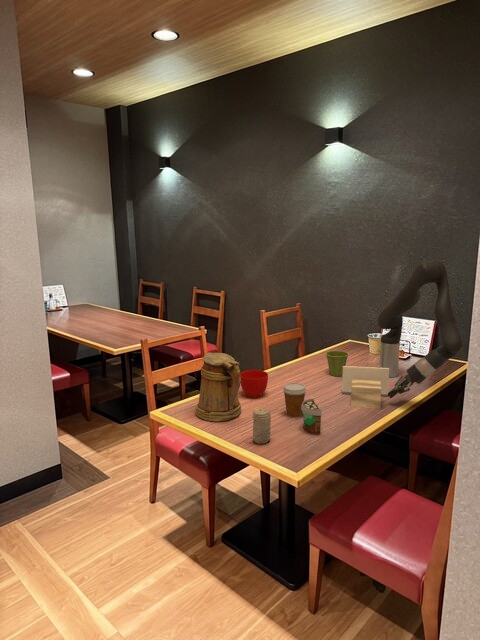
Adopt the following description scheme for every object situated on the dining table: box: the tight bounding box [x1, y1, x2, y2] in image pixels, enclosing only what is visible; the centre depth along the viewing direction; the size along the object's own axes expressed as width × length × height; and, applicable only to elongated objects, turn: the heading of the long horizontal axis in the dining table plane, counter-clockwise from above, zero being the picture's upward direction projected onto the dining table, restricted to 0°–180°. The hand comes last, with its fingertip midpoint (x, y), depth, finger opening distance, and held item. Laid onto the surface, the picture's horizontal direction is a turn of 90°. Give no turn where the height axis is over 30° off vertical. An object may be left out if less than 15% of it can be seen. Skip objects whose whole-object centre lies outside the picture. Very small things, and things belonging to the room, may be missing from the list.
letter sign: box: [341, 365, 390, 398], centre depth 209 cm, size 6×20×13 cm, turn 77°
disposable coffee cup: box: [282, 382, 307, 418], centre depth 188 cm, size 10×10×12 cm
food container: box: [301, 398, 322, 435], centre depth 174 cm, size 12×6×10 cm, turn 5°
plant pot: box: [325, 350, 350, 377], centre depth 236 cm, size 12×12×11 cm
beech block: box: [350, 379, 382, 410], centre depth 198 cm, size 10×12×9 cm
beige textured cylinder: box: [252, 407, 272, 445], centre depth 165 cm, size 6×8×12 cm
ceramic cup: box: [240, 369, 269, 399], centre depth 212 cm, size 13×17×10 cm
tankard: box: [195, 352, 242, 423], centre depth 187 cm, size 18×24×25 cm
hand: (389, 396), depth 196 cm, fingers closed
